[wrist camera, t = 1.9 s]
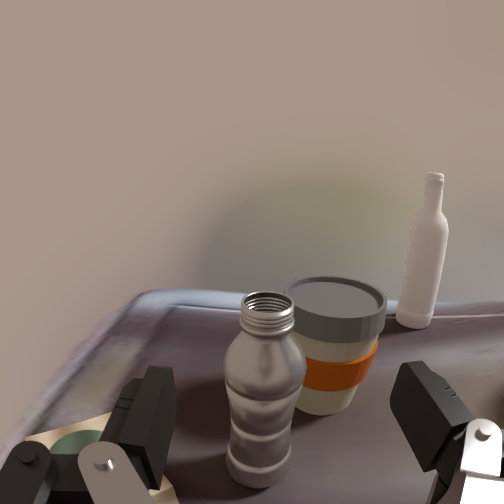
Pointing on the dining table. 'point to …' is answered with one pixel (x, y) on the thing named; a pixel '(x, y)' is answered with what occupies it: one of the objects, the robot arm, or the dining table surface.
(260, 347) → the plastic bottle
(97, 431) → the base block
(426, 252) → the bottle
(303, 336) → the reusable coffee cup
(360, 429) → the dining table surface
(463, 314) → the dining table surface
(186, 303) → the dining table surface
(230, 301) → the dining table surface
